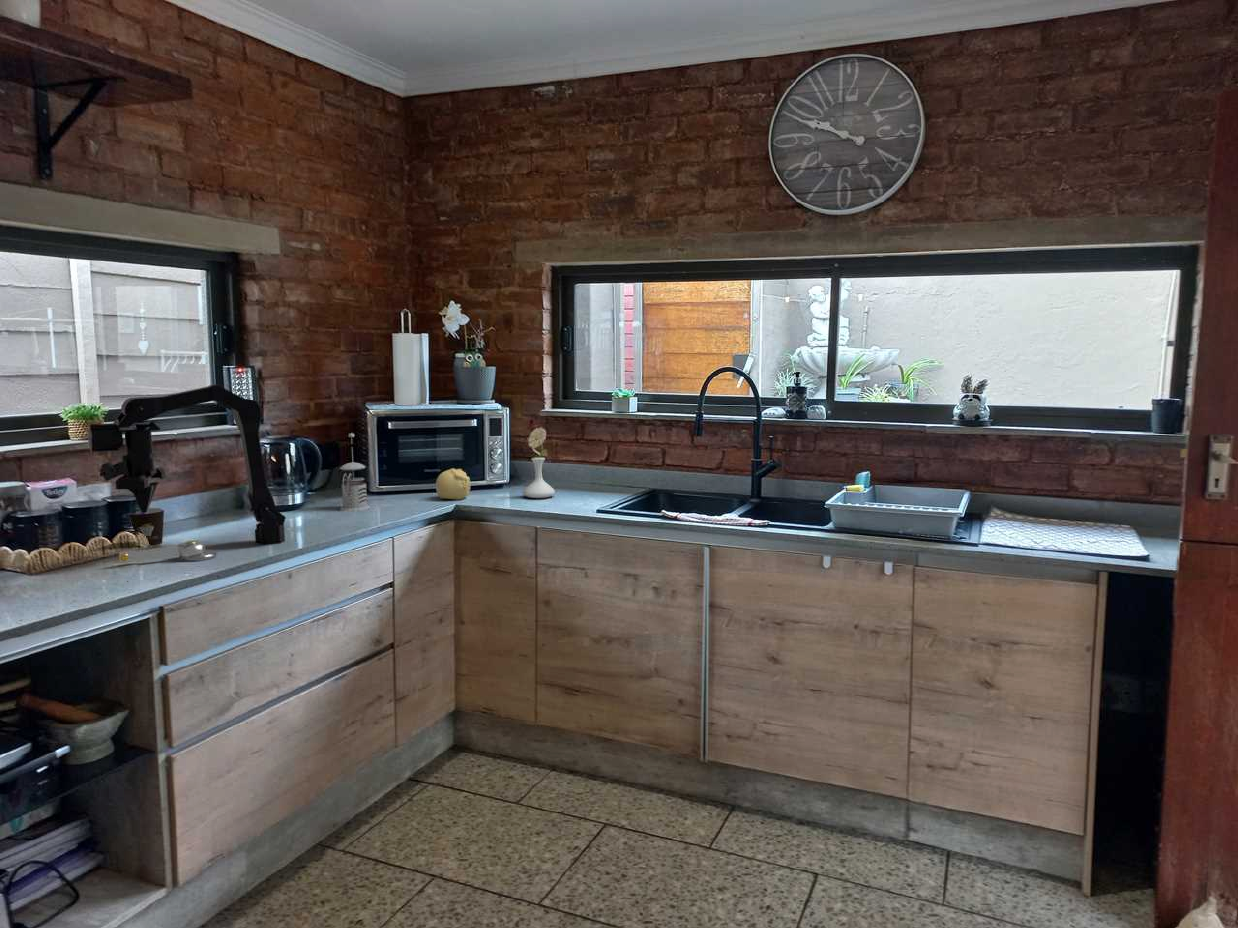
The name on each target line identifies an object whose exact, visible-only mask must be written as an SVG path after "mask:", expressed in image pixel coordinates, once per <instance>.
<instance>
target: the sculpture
mask: <svg viewBox="0 0 1238 928" xmlns="http://www.w3.org/2000/svg"><path fill="white" fill-rule="evenodd" d="M435 482H436V483H435V489H436V493H437V496H439V498H440V499H446V500H463V499H465V498H466V497H468V495H469V493H470V490H471V489H472V488H471V485H472V483H471V479H470V477H469V476H467V472H465V471H463V470H462V468H457V469H456V468H454V467H453V468H450V469H447V470H445V471H443V472H441V473H440V474H439V475H438V477H437V478H436V481H435Z"/></svg>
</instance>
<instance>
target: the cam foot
mask: <svg viewBox="0 0 1238 928" xmlns="http://www.w3.org/2000/svg"><path fill="white" fill-rule="evenodd" d="M177 557H178V561H179V562H203V561H207V560H208V561H209V560H212V559H214V558H217V551H216V550H213V549H206V543H205V542H204V541H196V540H190V541H186V542H183V543H179V544H178V545H168V546H167V545H166V546H159V547H150V548H141V549H132V550H123V551H119V552H118V560H119V564H126V563H135V562H142V561H151V560H152V561H153V560H159V559H167V558H177Z"/></svg>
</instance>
